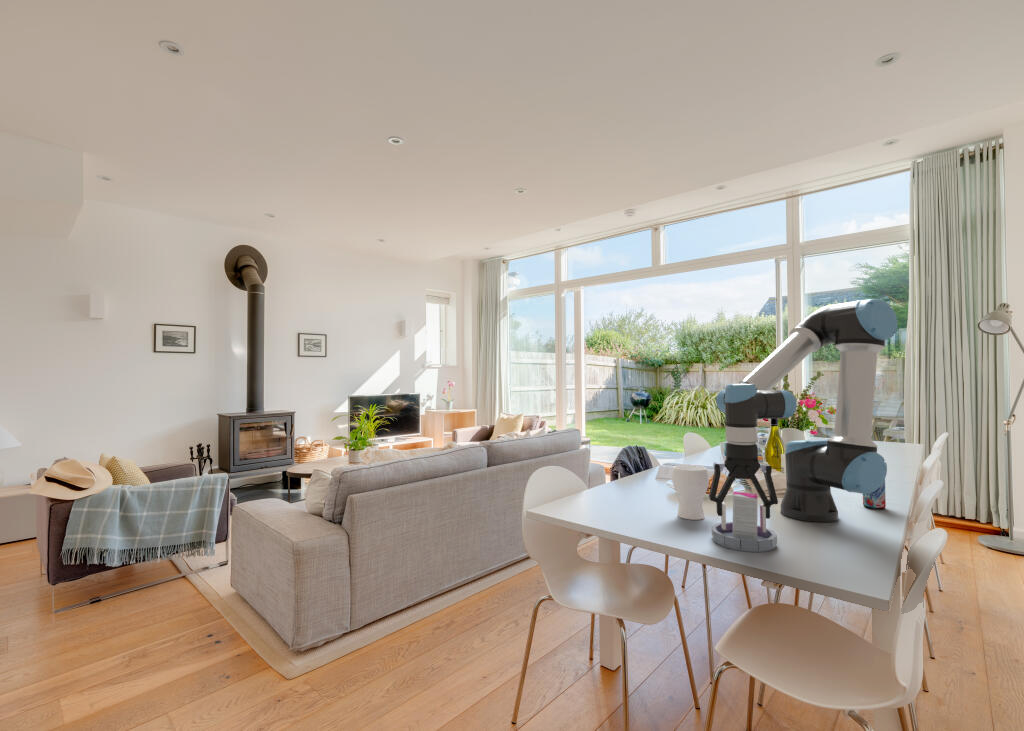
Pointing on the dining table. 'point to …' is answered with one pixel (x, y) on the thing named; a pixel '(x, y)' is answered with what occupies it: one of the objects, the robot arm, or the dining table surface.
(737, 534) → the supplement box
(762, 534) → the dish
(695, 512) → the cup
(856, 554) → the dining table surface
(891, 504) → the dining table surface
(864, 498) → the beverage can
